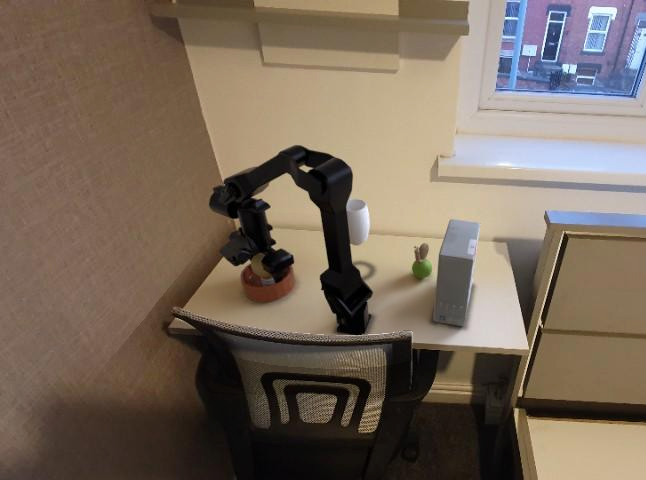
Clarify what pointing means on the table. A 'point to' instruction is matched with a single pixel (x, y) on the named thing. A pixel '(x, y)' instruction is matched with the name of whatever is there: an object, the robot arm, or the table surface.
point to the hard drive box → (456, 272)
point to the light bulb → (261, 270)
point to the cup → (357, 221)
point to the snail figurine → (421, 262)
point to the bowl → (266, 293)
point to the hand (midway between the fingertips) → (267, 275)
